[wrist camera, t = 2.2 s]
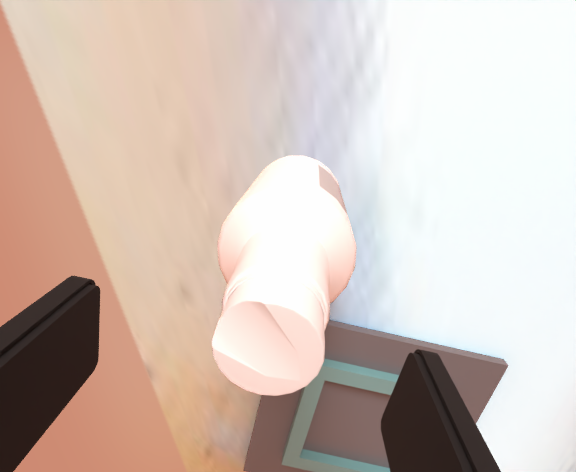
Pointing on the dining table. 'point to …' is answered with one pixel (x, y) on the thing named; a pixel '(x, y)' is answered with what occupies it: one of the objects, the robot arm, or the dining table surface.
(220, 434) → the dining table surface
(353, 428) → the dock
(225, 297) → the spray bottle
